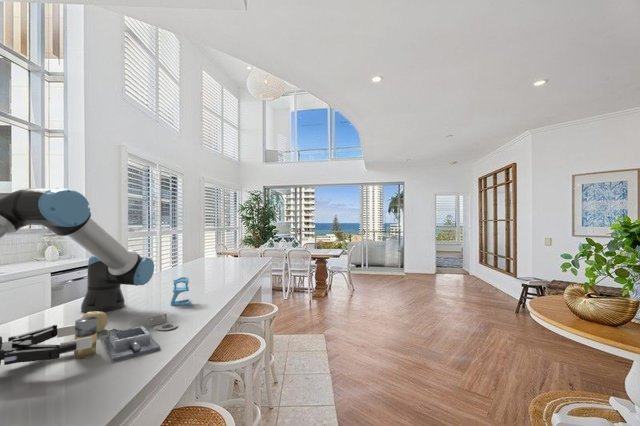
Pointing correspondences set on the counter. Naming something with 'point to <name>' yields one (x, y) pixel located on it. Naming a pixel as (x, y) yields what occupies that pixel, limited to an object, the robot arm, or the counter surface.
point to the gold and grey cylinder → (83, 330)
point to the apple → (98, 319)
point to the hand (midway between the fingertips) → (88, 334)
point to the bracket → (159, 320)
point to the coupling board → (129, 343)
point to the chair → (180, 291)
